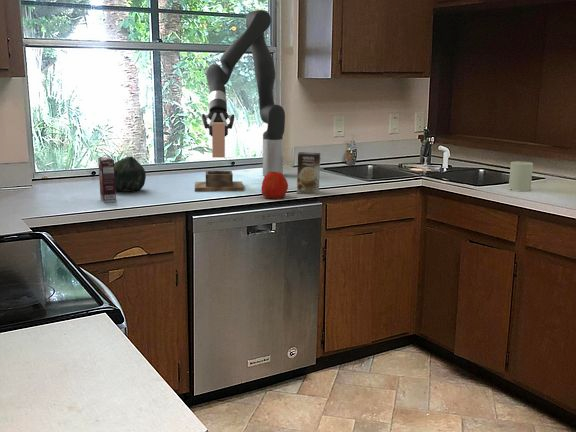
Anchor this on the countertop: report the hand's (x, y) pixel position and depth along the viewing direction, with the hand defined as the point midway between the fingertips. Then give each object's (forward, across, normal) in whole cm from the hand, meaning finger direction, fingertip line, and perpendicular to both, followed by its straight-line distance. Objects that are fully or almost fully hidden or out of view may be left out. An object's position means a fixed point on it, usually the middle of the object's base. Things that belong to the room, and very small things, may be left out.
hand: (218, 135), depth 262 cm
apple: (+30, +21, +2) cm, 37 cm away
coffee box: (+23, +36, +9) cm, 44 cm away
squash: (+18, -37, +15) cm, 44 cm away
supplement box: (+32, -42, +1) cm, 53 cm away
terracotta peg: (+5, 0, +8) cm, 9 cm away
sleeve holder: (+14, 0, +17) cm, 22 cm away
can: (+22, +128, +9) cm, 130 cm away
